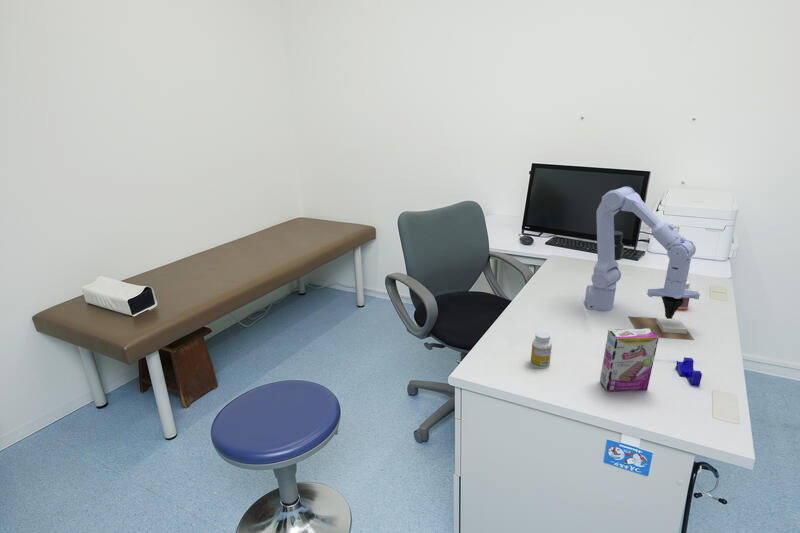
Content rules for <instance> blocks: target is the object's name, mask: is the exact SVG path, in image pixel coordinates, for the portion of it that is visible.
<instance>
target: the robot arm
mask: <svg viewBox="0 0 800 533" xmlns="http://www.w3.org/2000/svg"><path fill="white" fill-rule="evenodd" d="M620 211H623V212H631V213H633V214H635V216H636V217H637V218H639V219H640V220H641V221H642V222H643V223H644V224H645V225H646V226H648V228H650V229H651V236H652V237H653V238H654V239H655V241H657V242H658V243H659V244H660V245H661V246H662V247H663V248H664V250H666V251H667V252H666V253H667V257H668V258H669V261H668V264H667V269H666V276H665V279H664V284H663V285H664V286H663V287H660V288H649V289H647V294H646V295H647V297H648V298H653V297H659V298H661V300H662V303H663V306H664V316H665V318H666V319H673V317H674V315H675V313H676V312H677V309H678V308H679V307H680V306H681V305H682V304H683V302H684V300H683V298H690V299H694V300H699V299H700V296H701V294H700V293H699V292H698V291H695V290H691V291H689V290H685V286H686V281H687V280H688V276H689V272H690V266H691V265H690V264H691V260H692V259H691V258H692V257H693V256H694V255H695V254H696V249H697V248H696V245H695V244H694V243H693V241H692V240H689V239H686V238H685V237H684V236H681V234H680V233H679V232H678V231H677V230H676V229H675V226H674V225H673V224H672V223H671V224H670V223H668V222H663V221H661V219H659V217H658V216H657V215H655V213H654V212H653V211H652V210H651V209H650V207H648V205H647V204H646V203H645V202H644V200H642V198H641V196H640V194H639V193H638V192H636V191H635V190H634V189H633V188H632V187H630V186H622V187H620V188H617V189H611V190H609V191H607V192H606V193H605V194H604V195H602V196H601V201H600V203H599V204H598V207H597V209H596V214H595V215H596V242H597V243H596V245H597V246H596V247H597V262H596V263H595V265H594V267H593V273H592V276H591V283H592V284H589V285H588V284H587V286H586V288H585V297H584V305H585V306H586V307H585V308H586V309H587V310H594V311H601V312H608V311H612V310H613V309H614V302H615V297H616V289H617V282H619V281H620V279H621V277H622V273H621V270H620V268H619V263H618V261H617V260H615V253H614V231H615V220H614V218H615V215H616V214H617V213H618V212H620Z"/></svg>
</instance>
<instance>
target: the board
mask: <svg viewBox="0 0 800 533" xmlns="http://www.w3.org/2000/svg"><path fill="white" fill-rule="evenodd" d="M627 317H628V319H629V321H630V323H631V324H632V327H633V329H650V330H652V332H654V333H655V334H656V335H657V336H658V337H659V339H670V340H671V339H672V340H674V339H675V340H685V341H687V340H688V341H695V339H694V337H693V336H692V335H691V333H690V332H689V331H688V330H687V334H681V333H665V332H662V331H661V329H660V328H659V326H658V325H657V323H656V318H657V317H647V316H645V317H644V316H643V317H642V316H627Z"/></svg>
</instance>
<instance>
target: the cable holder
mask: <svg viewBox="0 0 800 533" xmlns="http://www.w3.org/2000/svg"><path fill="white" fill-rule="evenodd" d="M694 362H695V360H694V359H693V358H692V357H683V361H676V365H675V370H676V372H677V374H678V375H679V377H682V378H686V380H687V381H688V383H689V385H690V386H694V387H700V384H701V381H702V378H703V377H702V376H703V373H702V371H700V370H696V369H695V370H694Z"/></svg>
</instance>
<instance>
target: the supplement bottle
mask: <svg viewBox="0 0 800 533" xmlns="http://www.w3.org/2000/svg"><path fill="white" fill-rule="evenodd" d="M552 344H553V343H552V341H551V334H550V333H548V331H537V332H536V333H535V338H534V339H533V340H532V344H531V353H530V364H531V365H532V366H533V367H535V368H538V369H546V368H549V366H550V364H551V356H552V346H553V345H552Z"/></svg>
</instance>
